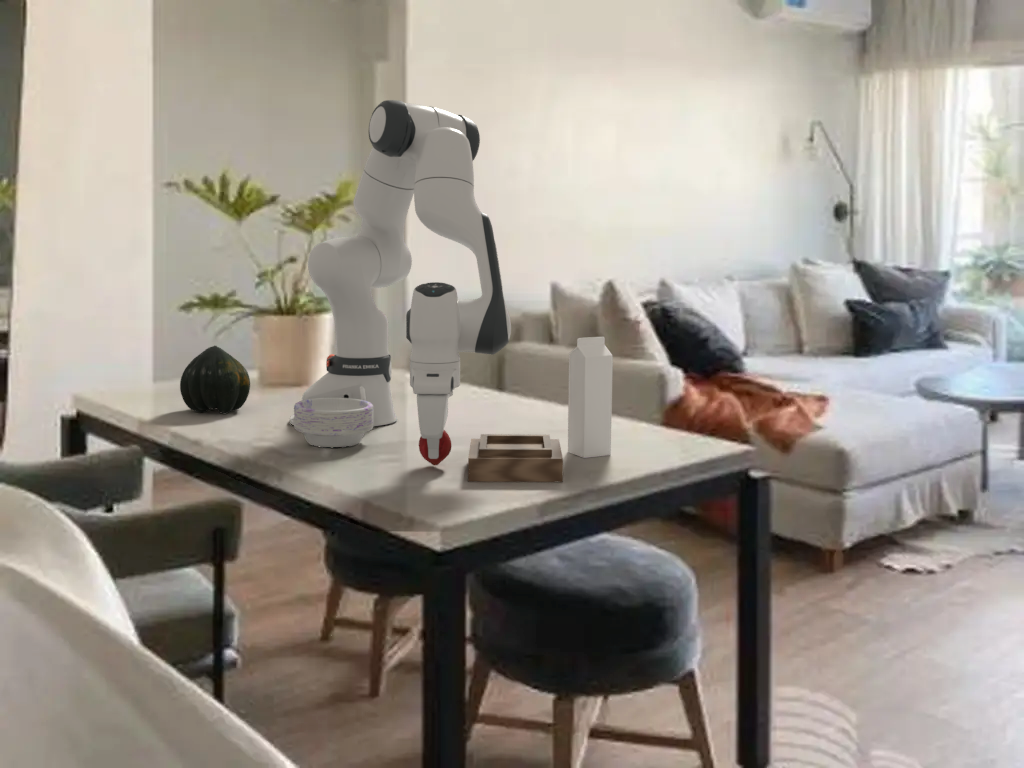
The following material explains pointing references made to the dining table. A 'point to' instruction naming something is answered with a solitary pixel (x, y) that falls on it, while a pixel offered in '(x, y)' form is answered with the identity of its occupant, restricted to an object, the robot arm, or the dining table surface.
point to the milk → (590, 398)
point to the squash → (214, 382)
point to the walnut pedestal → (515, 458)
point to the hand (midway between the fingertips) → (435, 453)
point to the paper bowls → (333, 421)
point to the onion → (443, 448)
